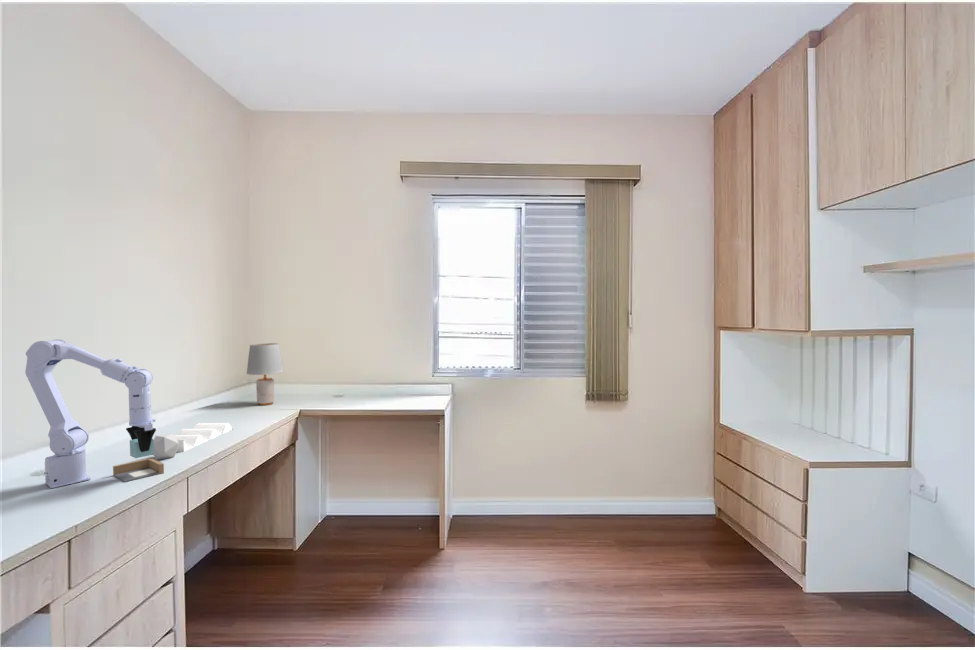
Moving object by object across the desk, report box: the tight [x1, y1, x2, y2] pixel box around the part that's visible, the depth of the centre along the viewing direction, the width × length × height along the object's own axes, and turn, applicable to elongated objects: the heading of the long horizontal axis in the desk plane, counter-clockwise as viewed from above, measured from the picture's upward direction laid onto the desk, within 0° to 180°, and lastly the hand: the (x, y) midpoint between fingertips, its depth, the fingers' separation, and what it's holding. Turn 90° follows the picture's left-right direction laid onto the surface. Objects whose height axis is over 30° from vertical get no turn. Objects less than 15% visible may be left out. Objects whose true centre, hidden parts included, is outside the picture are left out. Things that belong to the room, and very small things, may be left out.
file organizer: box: [174, 422, 234, 453], centre depth 199 cm, size 13×35×5 cm, turn 0°
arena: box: [112, 457, 165, 483], centre depth 156 cm, size 10×11×3 cm
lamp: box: [246, 342, 284, 406], centre depth 276 cm, size 19×19×34 cm
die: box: [153, 433, 179, 461], centre depth 175 cm, size 8×9×10 cm
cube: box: [129, 438, 154, 459], centre depth 156 cm, size 5×5×5 cm
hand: (141, 449), depth 156 cm, fingers closed on cube, 5 cm apart
